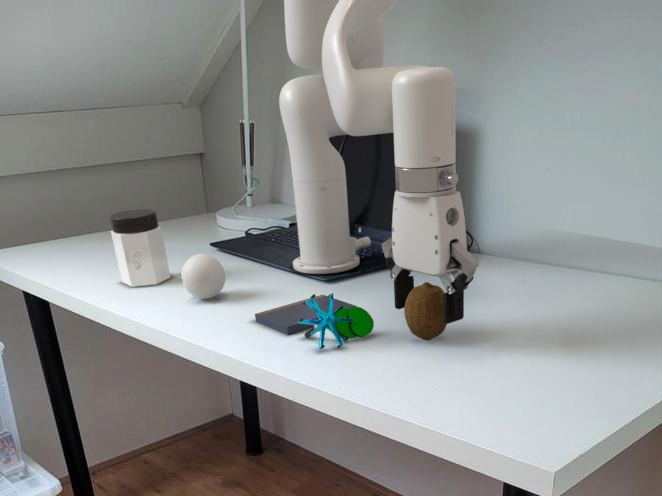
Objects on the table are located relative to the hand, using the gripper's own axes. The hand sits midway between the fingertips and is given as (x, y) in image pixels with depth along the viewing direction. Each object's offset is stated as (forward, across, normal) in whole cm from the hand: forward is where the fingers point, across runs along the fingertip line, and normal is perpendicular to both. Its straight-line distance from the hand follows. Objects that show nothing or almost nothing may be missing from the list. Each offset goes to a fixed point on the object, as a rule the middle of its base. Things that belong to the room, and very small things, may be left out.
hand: (428, 313), depth 102 cm
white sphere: (+3, +44, +12) cm, 46 cm away
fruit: (+4, 0, 0) cm, 4 cm away
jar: (+3, +62, +14) cm, 64 cm away
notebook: (+4, +22, +6) cm, 23 cm away
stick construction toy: (+4, +10, +9) cm, 14 cm away
